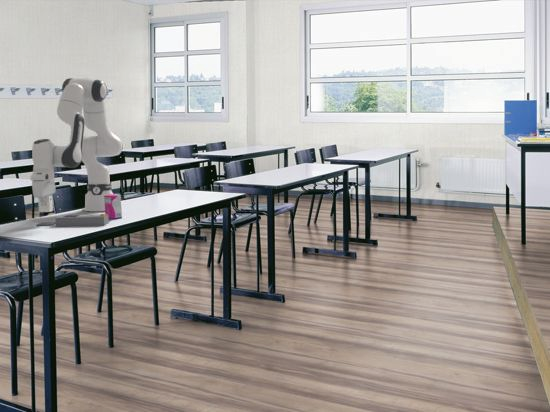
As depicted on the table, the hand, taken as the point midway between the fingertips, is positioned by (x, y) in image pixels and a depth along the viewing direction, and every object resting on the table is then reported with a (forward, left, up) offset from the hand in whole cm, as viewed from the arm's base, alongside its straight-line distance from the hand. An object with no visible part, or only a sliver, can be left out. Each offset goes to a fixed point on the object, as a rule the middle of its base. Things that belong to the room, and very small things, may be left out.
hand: (45, 205), depth 301 cm
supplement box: (-16, +27, -9) cm, 33 cm away
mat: (0, 0, -9) cm, 9 cm away
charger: (0, 0, -3) cm, 3 cm away
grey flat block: (-2, +17, -9) cm, 19 cm away
